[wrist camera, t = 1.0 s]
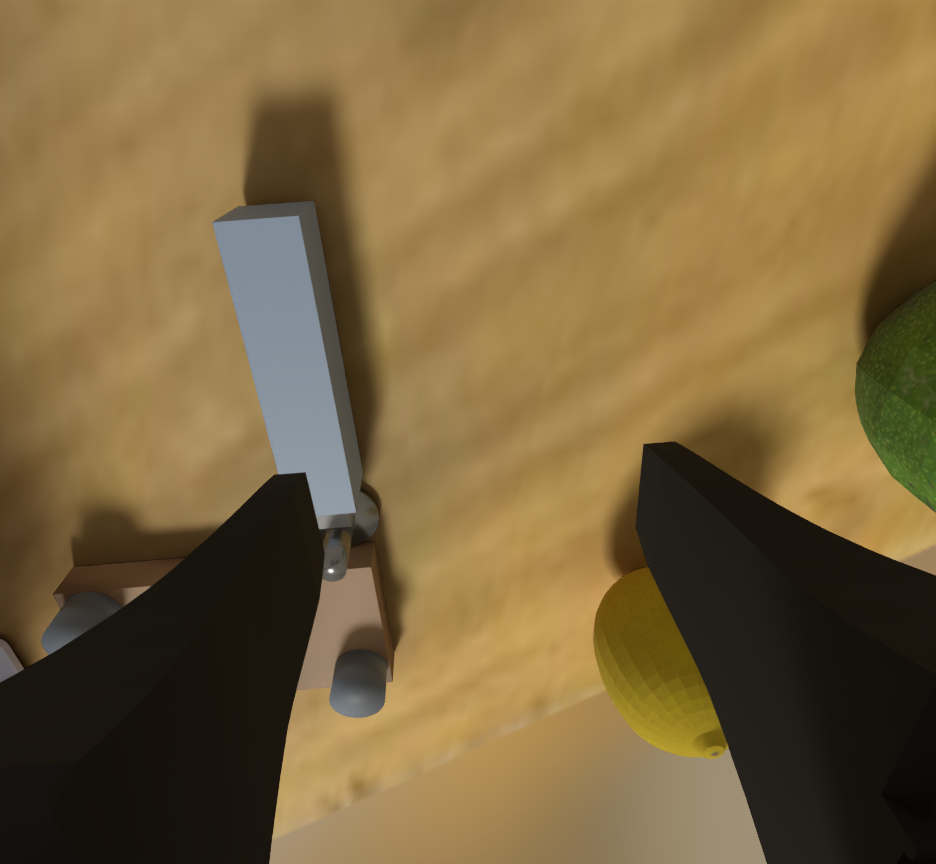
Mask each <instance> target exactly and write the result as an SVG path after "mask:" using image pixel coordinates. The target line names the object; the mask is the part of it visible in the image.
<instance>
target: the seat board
mask: <svg viewBox="0 0 936 864" xmlns="http://www.w3.org/2000/svg"><path fill="white" fill-rule="evenodd" d="M184 559H185V558H174V559H163V560H151V561H139V562H127V563H116V564H104V565H92V566H80V567H73V568H72V569H71V571H70V572H69V573H68V575H67V576H66V577H65V579H64V580H63V581H62V583H61V584H60V585H59V587H58V588H57V589H56V591H55V592H54V593H53V596H54V598H55V600H56V602H57V603H58V605H59V607H60V611H59V612H58V614H57V615H56V616H55V618H54V619H53V621H52V622H51V623H50V625H49V626H48V628H47V629H46V631H45V632H44V633H43V635H42V639H41V642H42V646H43V648H44V650H45V651H46V652H47V653H48V654H49V655H50V654H51V653H53V652H55V651H56V650H58V649H60V648H61V647H63V646H64V645H66V644H67V643H69V642H70V641H72V640H74V639H75V638H77V637H78V636H80V635H81V634H83V633H85V632H86V631H88V630H89V629H91V628H92V627H94V626H96V625H97V624H99V623H100V622H102V621H103V620H105V619H107V618H108V617H110V616H111V615H112V614H114V613H115V612H117V611H118V610H120V609H121V608H122V607H124V606H125V605H127V604H128V603H129V602H131V601H132V600H133V599H135V598H136V597H138V596H139V595H140V594H142V593H143V592H144V591H146V590H147V589H148V588H150V587H151V586H152V585H153V584H155V583H156V582H157V581H159V580H160V579H161V578H162V577H164V576H165V575H166V574H167V573H169V572H170V571H171V570H172V569H173V568H174V567H176V566H177V565H178V564H179V563H180V562H181V561H182V560H184ZM393 667H394V649H393V643H392V638H391V632H390V627H389V621H388V616H387V610H386V605H385V599H384V594H383V588H382V582H381V577H380V571H379V566H378V560H377V555H376V549H375V544H374V542H363V543H361V544H358V545H355V546H351V547H350V553H349V559H348V565H347V571H346V575H345V576H344V578H342V579H341V580H339V581H335V582H329V581H326V580H323V579H322V585H321V592H320V600H319V604H318V608H317V612H316V616H315V620H314V624H313V628H312V632H311V636H310V640H309V644H308V647H307V651H306V655H305V659H304V663H303V667H302V671H301V674H300V678H299V682H298V686H297V690H306V689H317V688H328V687H331V693H330V704H331V706H332V708H333V709H334V710H335V711H336V712H338V713H340V714H342V715H344V716H347V717H353V718H362V717H368V716H371V715H373V714H375V713H377V712H378V711H380V710H381V709H382V707H383V706H384V703H385V691H386V682H393Z"/></svg>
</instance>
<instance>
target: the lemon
mask: <svg viewBox="0 0 936 864" xmlns="http://www.w3.org/2000/svg"><path fill="white" fill-rule="evenodd" d="M593 640H594V650H595V656H596V660H597V663H598V667H599V671H600V675H601V678H602V680H603V683H604V686H605V688H606V690H607V692H608V694H609V696H610V698H611V700H612V701H613V703H614V705H615V706H616V708H617V709H618V711H619V712H620V714H621V715H622V716H623V718H624V719H625V720H626V722H627V723H628V725H629V726H630V727H631V728H632V729H633V730H634V731H635V732H636V733H637V734H638V735H639V736H640V737H642V738H643V739H644V740H646V741H647V742H649V743H650V744H651V745H653V746H655V747H657V748H659V749H661V750H664V751H667V752H669V753H672V754H675V755H680V756H687V757H705V758H708V759H714V758H718V757H720V756H721V755H723V753H724V751H725V750H726V749H728V748H729V747H728V744H727V742H726V739H725V736H724V733H723V731H722V728H721V725H720V723H719V720H718V717H717V715H716V712H715V709H714V706H713V704H712V701H711V698H710V696H709V693H708V690H707V688H706V686H705V684H704V681H703V679H702V677H701V674H700V672H699V670H698V668H697V666H696V664H695V662H694V660H693V658H692V656H691V654H690V652H689V650H688V648H687V645H686V643H685V641H684V639H683V637H682V635H681V633H680V631H679V629H678V627H677V625H676V623H675V621H674V619H673V617H672V615H671V613H670V611H669V609H668V607H667V605H666V603H665V601H664V599H663V597H662V595H661V593H660V591H659V589H658V587H657V585H656V582H655V580H654V578H653V576H652V574H651V572H650V569H649V567H645V568H641V569H638V570H635V571H633V572H631V573H629V574H627V575H625V576H623V577H622V578H621V579H619V580H618V581H617V582H616V583H614V584H613V585H612V587H611V588H610V589H609V590H608V591H607V593H606V594H605V595H604V597H603V599H602V601H601V603H600V606H599V608H598V610H597V613H596V618H595V625H594V638H593Z"/></svg>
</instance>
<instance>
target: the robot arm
mask: <svg viewBox="0 0 936 864" xmlns="http://www.w3.org/2000/svg"><path fill="white" fill-rule="evenodd" d="M636 530H637V533H638V536H639V539H640V542H641V546H642V549H643V552H644V555H645V558H646V561H647V564H648V566H649V569H650V572H651V574H652V576H653V578H654V580H655V582H656V585H657V587H658V589H659V591H660V593H661V595H662V597H663V599H664V601H665V603H666V605H667V607H668V609H669V611H670V613H671V615H672V617H673V619H674V621H675V623H676V625H677V627H678V629H679V631H680V633H681V635H682V637H683V639H684V641H685V643H686V645H687V648H688V650H689V652H690V654H691V656H692V658H693V660H694V662H695V664H696V666H697V668H698V670H699V672H700V674H701V677H702V679H703V681H704V684H705V686H706V688H707V690H708V693H709V696H710V698H711V701H712V704H713V706H714V709H715V712H716V715H717V717H718V720H719V723H720V725H721V728H722V731H723V733H724V736H725V739H726V742H727V744H728V747H729V750H730V753H731V756H732V759H733V762H734V765H735V768H736V770H737V773H738V776H739V779H740V782H741V785H742V788H743V790H744V793H745V796H746V799H747V803H748V805H749V808H750V812H751V815H752V818H753V821H754V824H755V827H756V831H757V834H758V837H759V840H760V843H761V846H762V849H763V852H764V855H765V859H766V862H767V864H936V576H935V575H933V574H930V573H927V572H925V571H922V570H920V569H917V568H914V567H912V566H909V565H906V564H904V563H901V562H898V561H896V560H893V559H891V558H888V557H886V556H883V555H881V554H879V553H876V552H874V551H871V550H869V549H867V548H864V547H862V546H860V545H858V544H856V543H854V542H851V541H849V540H847V539H845V538H843V537H840V536H838V535H836V534H834V533H832V532H829V531H827V530H825V529H823V528H821V527H819V526H817V525H815V524H813V523H811V522H810V521H808V520H806V519H804V518H802V517H800V516H798V515H797V514H795V513H793V512H791V511H789V510H787V509H786V508H784V507H782V506H780V505H778V504H776V503H775V502H773V501H771V500H770V499H768V498H766V497H764V496H763V495H761V494H759V493H758V492H756V491H754V490H753V489H751V488H749V487H748V486H746V485H744V484H743V483H741V482H740V481H738V480H736V479H735V478H733V477H732V476H730V475H728V474H727V473H725V472H724V471H722V470H721V469H719V468H717V467H716V466H714V465H713V464H711V463H710V462H708V461H706V460H705V459H703V458H702V457H700V456H698V455H697V454H695V453H694V452H692V451H690V450H689V449H687V448H685V447H684V446H682V445H680V444H678V443H676V442H664V443H651V444H644V446H643V456H642V466H641V477H640V487H639V498H638V508H637V518H636ZM324 557H325V552H324V548H323V543H322V539H321V535H320V531H319V526H318V522H317V518H316V514H315V509H314V505H313V501H312V497H311V492H310V488H309V484H308V480H307V475H306V472H302V473H290V474H278V475H274V476H272V477H271V478H270V479H269V480H268V481H267V482H266V483H265V484H264V485H263V486H262V487H260V488H259V489H258V490H257V491H256V492H255V493H254V494H253V495H252V496H251V497H250V498H249V499H248V500H247V501H246V502H245V503H244V504H243V505H242V506H241V507H240V508H239V509H238V510H237V511H236V512H235V513H234V514H233V515H232V516H231V517H230V518H229V519H228V520H227V521H226V522H225V523H224V524H222V525H221V526H220V527H219V528H218V529H217V530H216V531H215V532H214V533H213V534H212V535H211V536H210V537H209V538H208V539H207V540H205V541H204V542H203V543H202V544H201V545H200V546H199V547H197V548H196V549H195V550H194V551H193V552H192V553H190V554H189V555H188V556H187V557H186V558H185V559H184V560H182V561H181V562H180V563H179V564H178V565H177V566H176V567H174V568H173V569H172V570H171V571H170V572H169V573H167V574H166V575H165V576H164V577H162V578H161V579H160V580H159V581H157V582H156V583H155V584H153V585H152V586H151V587H150V588H148V589H147V590H146V591H144V592H143V593H142V594H140V595H139V596H138V597H136V598H135V599H133V600H132V601H131V602H129V603H128V604H127V605H125V606H124V607H122V608H121V609H120V610H118V611H117V612H115V613H114V614H112V615H111V616H110V617H108V618H107V619H105V620H103V621H102V622H100V623H99V624H97V625H96V626H94V627H92V628H91V629H89V630H88V631H86V632H85V633H83V634H81V635H80V636H78V637H77V638H75V639H74V640H72V641H70V642H69V643H67V644H66V645H64V646H63V647H61V648H60V649H58V650H56V651H55V652H53V653H51V654H50V655H48V656H46V657H45V658H43V659H41V660H39V661H38V662H36V663H34V664H32V665H31V666H29V667H27V668H25V669H24V668H23V666H22V665H21V663H20V662H19V660H18V659H17V657H16V656H15V654H14V652H13V651H12V649H11V648H10V646H9V645H8V643H7V642H6V641H4V640H2V639H0V864H269V860H270V851H271V842H272V834H273V827H274V819H275V812H276V804H277V797H278V789H279V782H280V775H281V769H282V762H283V755H284V749H285V742H286V735H287V729H288V724H289V719H290V715H291V710H292V705H293V701H294V697H295V694H296V690H297V686H298V682H299V678H300V674H301V671H302V667H303V663H304V659H305V655H306V651H307V647H308V644H309V640H310V636H311V632H312V628H313V624H314V620H315V616H316V612H317V608H318V604H319V600H320V592H321V585H322V576H323V567H324Z"/></svg>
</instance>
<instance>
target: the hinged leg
mask: <svg viewBox="0 0 936 864" xmlns="http://www.w3.org/2000/svg"><path fill="white" fill-rule="evenodd" d="M212 223H213V227H214V231H215V235H216V238H217V242H218V246H219V250H220V254H221V257H222V261H223V265H224V269H225V273H226V276H227V280H228V284H229V288H230V292H231V295H232V299H233V303H234V307H235V311H236V314H237V318H238V322H239V326H240V330H241V333H242V337H243V341H244V345H245V349H246V352H247V356H248V360H249V364H250V368H251V371H252V375H253V379H254V383H255V387H256V390H257V394H258V398H259V402H260V406H261V409H262V413H263V417H264V421H265V425H266V428H267V432H268V436H269V440H270V444H271V447H272V451H273V455H274V459H275V463H276V466H277V470H278V474H290V473H302V472H306V475H307V480H308V484H309V488H310V492H311V497H312V501H313V505H314V509H315V514H316V518H317V522H318V526H319V529H327V528H339V527H351V526H352V522H353V516H354V513H356V510H357V504H358V499H359V493H360V487H361V481H362V475H363V471H362V465H361V459H360V454H359V448H358V443H357V437H356V431H355V426H354V420H353V415H352V409H351V404H350V398H349V392H348V387H347V381H346V376H345V370H344V364H343V359H342V353H341V348H340V342H339V337H338V331H337V325H336V320H335V314H334V309H333V303H332V297H331V292H330V286H329V281H328V275H327V270H326V264H325V258H324V253H323V247H322V242H321V236H320V230H319V225H318V219H317V214H316V208H315V203H314V201H304V202H291V203H277V204H264V205H251V206H238V207H236V208H235V209H233V210H232V211H230V212H228V213H227V214H225V215H223V216H222V217H220V218H219V219H217V220H215V221H214V222H212Z"/></svg>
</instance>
